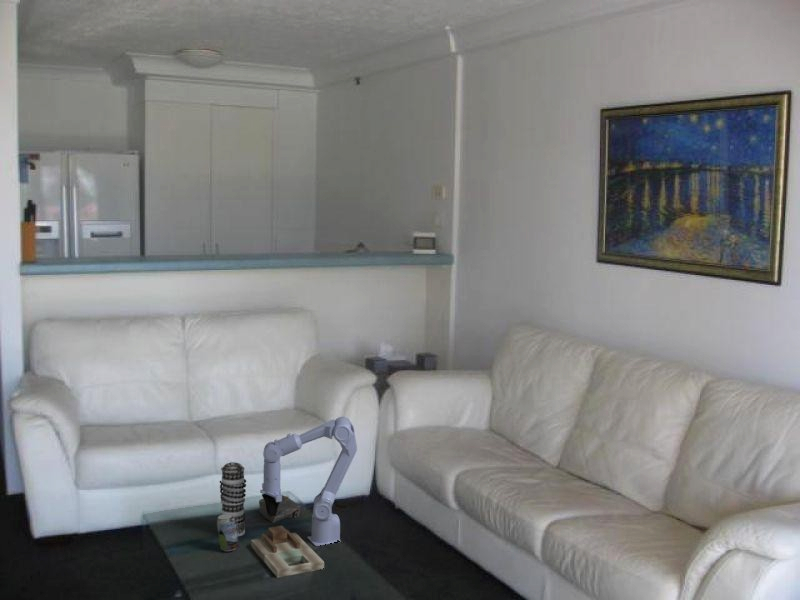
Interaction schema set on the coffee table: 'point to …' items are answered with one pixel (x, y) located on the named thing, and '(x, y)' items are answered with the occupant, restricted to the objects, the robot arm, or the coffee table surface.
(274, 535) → the block
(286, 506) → the geological specimen
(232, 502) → the decorative candle
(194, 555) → the coffee table surface
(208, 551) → the coffee table surface
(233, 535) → the beverage can
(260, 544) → the deck
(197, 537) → the coffee table surface
